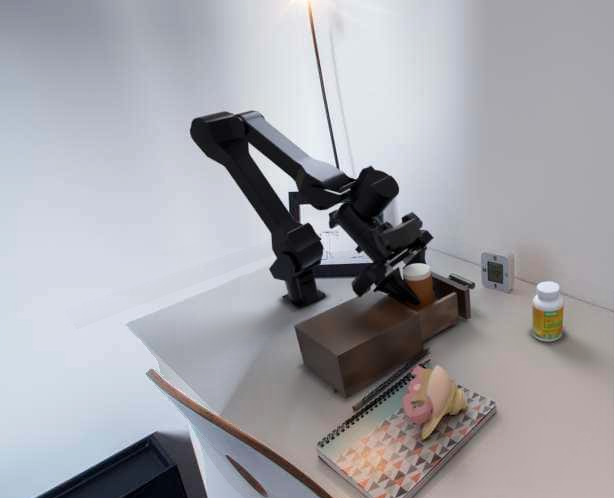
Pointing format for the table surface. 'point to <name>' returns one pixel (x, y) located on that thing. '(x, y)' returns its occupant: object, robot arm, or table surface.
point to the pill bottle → (419, 284)
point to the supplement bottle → (548, 312)
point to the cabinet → (359, 341)
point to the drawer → (444, 304)
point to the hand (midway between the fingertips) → (426, 296)
